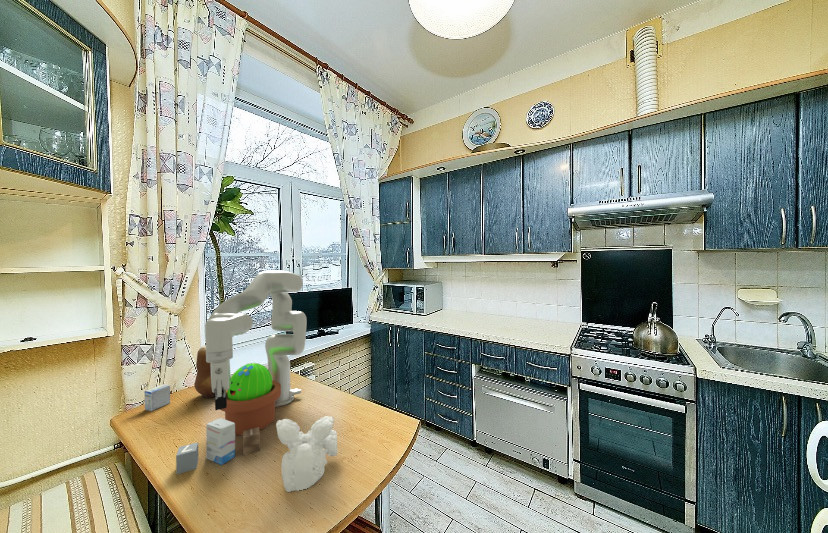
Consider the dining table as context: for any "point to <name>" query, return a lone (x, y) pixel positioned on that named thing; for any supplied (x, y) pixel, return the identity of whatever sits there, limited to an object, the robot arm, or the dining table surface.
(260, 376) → the potted cactus
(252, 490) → the dining table surface
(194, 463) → the slate block
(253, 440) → the walnut block
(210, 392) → the butternut squash
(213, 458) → the ink box
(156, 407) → the medicine box
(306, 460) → the cauliflower
